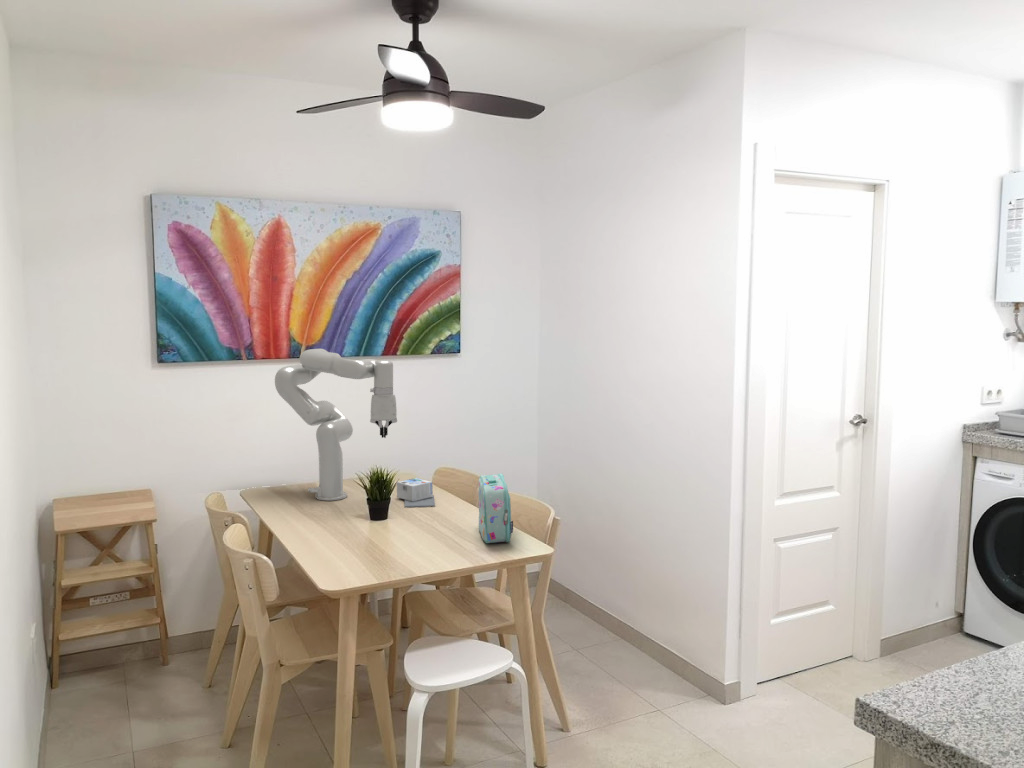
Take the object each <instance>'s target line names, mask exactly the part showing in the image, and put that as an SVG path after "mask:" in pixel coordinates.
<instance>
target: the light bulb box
mask: <svg viewBox="0 0 1024 768" xmlns="http://www.w3.org/2000/svg"><path fill="white" fill-rule="evenodd" d="M433 487H434V486H433V481H429V480H425V479H422V478H419V477H415V478H411V479H405V480H401V481H400V480H399V481H396V497H397V498H398V499H402V500H404V501H405V500H409V501H412V502H413V501H417V500H422V499H426V498H430V497H433V495H434V494H433V493H434V489H433Z"/></svg>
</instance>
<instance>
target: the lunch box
mask: <svg viewBox="0 0 1024 768" xmlns="http://www.w3.org/2000/svg"><path fill="white" fill-rule="evenodd" d="M477 485H478V512H479V513H478V530H479V533H480V535H481V538H482V540H483V541H484V543H486V544H495V543H505V542H506V543H509V542H511V537H512V533H513V532H514V520H512V507H511V495H510V494H509V488H508V484H507V483H506V481H505V476H504V474H503V473H497V474H485V475H480V476H479V478H478V484H477Z"/></svg>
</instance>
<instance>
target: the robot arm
mask: <svg viewBox="0 0 1024 768" xmlns="http://www.w3.org/2000/svg"><path fill="white" fill-rule="evenodd" d="M298 360H299V364H291V365H287V366H282V367H281V368H279V369H278V370H277V372H276V373H275V376H274V386H275V390H276V392H277V393H278V395H279V396H280V397H281V398H282V400H284V401H285V402H286V403H287V404H288V405H289V407H290V408H292V410H294V412H295V413H296V414H297V415H298V416H299V417H300V418H301V419H302V420H303V422H305V423H306V424H307V425H309V426H312V427H313V426H318V427H317V429H316V431H315V432H316V433H315V438H316V443H317V449H318V478H319V479H318V483H319V484H318V486H316V487H308V490H307V491H308V492H307V493H310V494H315V499H316V498H317V500H320V501H327V502H328V501H339V500H343V499H345V498H347V497H348V493H347V492H346V491H344V473H343V472H344V468H343V464H344V463H343V461H344V460H343V450H342V449H343V448H342V447H341V442H345V441H346V440H349V439H350V438H351V437H352V435H353V430H354V429H353V425H352V423H351V422H350V420H349V419H348V418H347V417H346V416H345V415H344V414H343V413H342V411H340V409H339V408H337V407H336V405H334V404H333V403H331V401H328V400H319V401H316V400H315V399H313V398H312V397H311V396H310V394H309V393H308V392H306V391H305V390H304V389H302V388H300V387H299V386H300V385H305V384H308V383H309V382H311V381H313V380H314V379H315V378H316V377H317V376H319V375H320V374H321V373H326V374H332V375H334V376H337V377H340V378H345V379H352V380H363V379H370V378H373V388H372V387H371V388H370V390H369V391H370V393H372V396H371V399H370V420H369V422H370V423H371V424H375V425H377V426H378V428H379V436H381V439H383V438H384V439H386V438H387V437H386V436H388V435H389V433H388V430H389V429H388V428H389V426H391V425H392V424H395V423H396V424H397V422H398V418H397V415H398V413H397V412H398V411H397V399H396V395H395V394H394V363H393V361H391V360H387V359H383V360H381V359H379V360H378V359H373V358H365V359H357V360H356V359H349V358H343V357H342V356H341V355H340V354H339V353H338V352H330V351H328V350H326V349H324V348H312V349H306V350H304V351H303V352H302V353H301V354H300V356H299V358H298ZM382 421H385V425H383V422H382Z"/></svg>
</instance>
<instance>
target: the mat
mask: <svg viewBox="0 0 1024 768" xmlns="http://www.w3.org/2000/svg"><path fill="white" fill-rule="evenodd" d="M428 506H435V507H436V501H435V495H434V494H433V497H430V498H426V499H422V500H417V501H413V502H412V501H409V500H405V499H404V508H405V507H407V508H429V507H428Z"/></svg>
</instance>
